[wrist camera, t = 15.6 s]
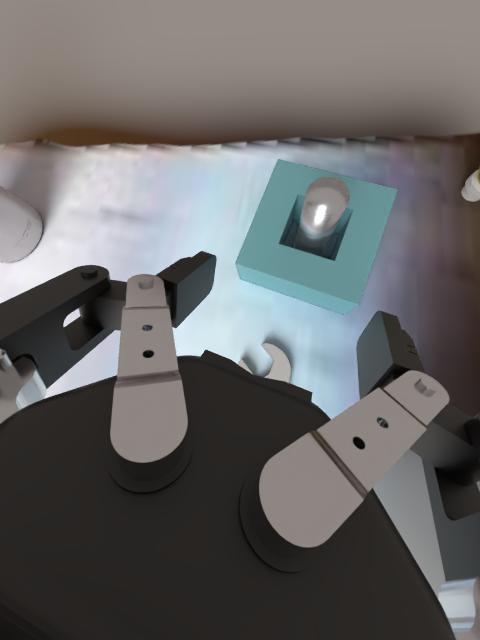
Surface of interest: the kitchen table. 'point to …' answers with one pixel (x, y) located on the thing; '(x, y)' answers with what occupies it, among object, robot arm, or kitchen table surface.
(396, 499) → the cylinder vase
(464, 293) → the kitchen table surface
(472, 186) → the light bulb
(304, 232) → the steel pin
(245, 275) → the socket block
